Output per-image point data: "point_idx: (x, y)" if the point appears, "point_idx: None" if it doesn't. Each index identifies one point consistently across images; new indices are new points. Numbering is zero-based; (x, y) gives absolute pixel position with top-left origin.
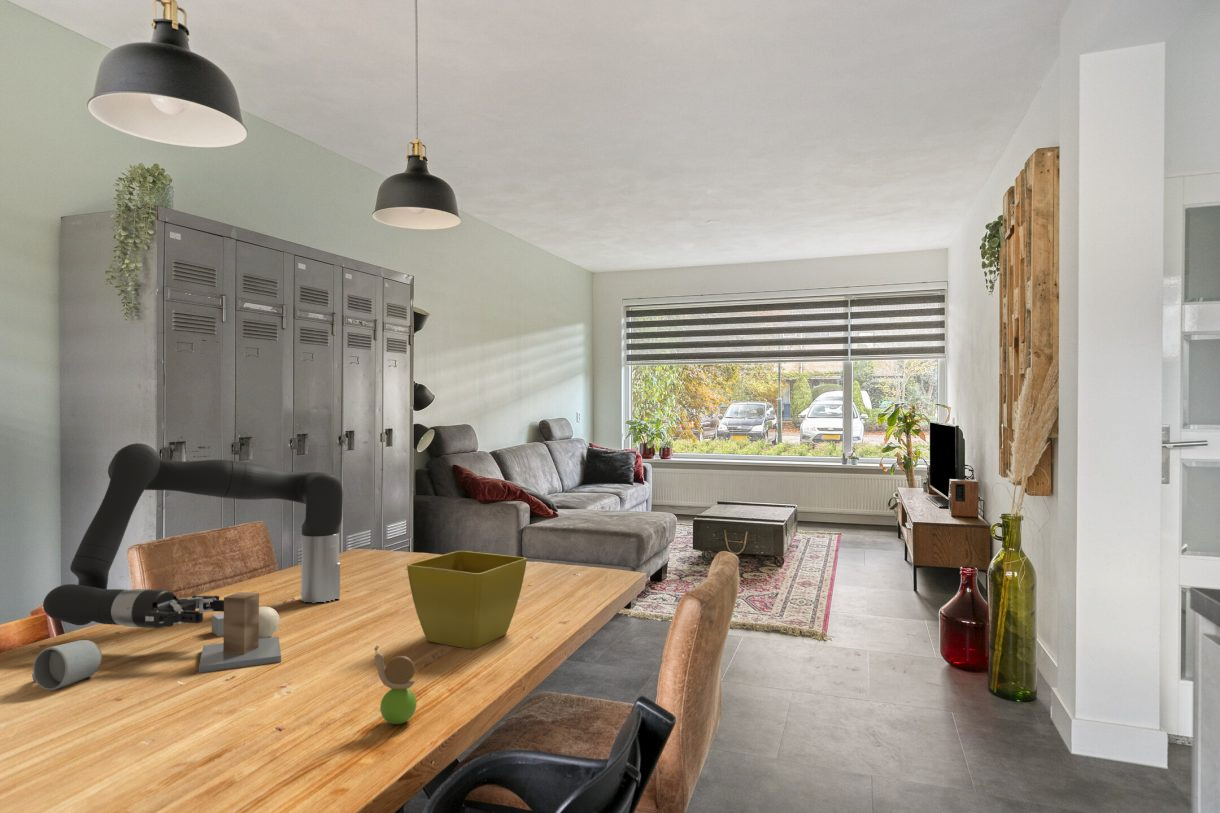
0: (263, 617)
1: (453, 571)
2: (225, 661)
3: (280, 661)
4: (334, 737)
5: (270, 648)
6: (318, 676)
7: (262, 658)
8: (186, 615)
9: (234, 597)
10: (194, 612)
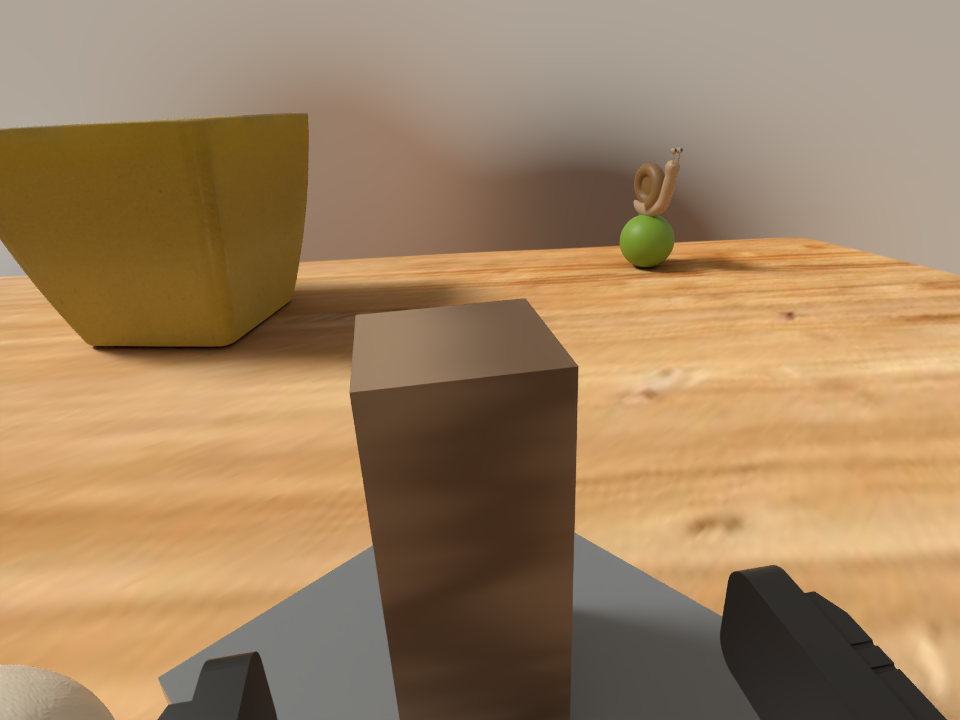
0: (74, 688)
1: (281, 115)
2: (658, 604)
3: None
4: (738, 280)
5: None
6: None
7: None
8: (913, 696)
9: (536, 331)
10: (818, 614)
